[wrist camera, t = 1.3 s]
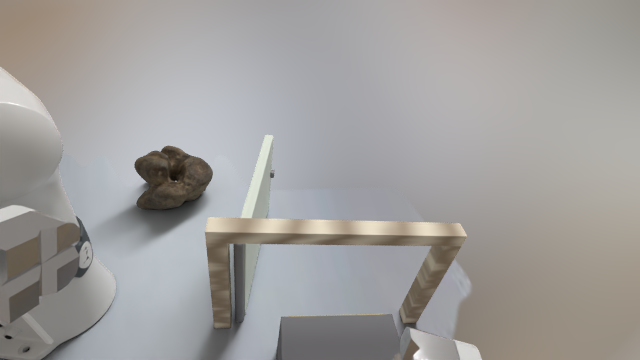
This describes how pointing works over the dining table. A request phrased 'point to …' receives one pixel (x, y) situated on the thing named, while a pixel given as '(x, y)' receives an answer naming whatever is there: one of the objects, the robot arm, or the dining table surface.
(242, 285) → the door
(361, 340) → the block
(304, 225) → the door frame
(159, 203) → the decorative stone
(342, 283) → the dining table surface
